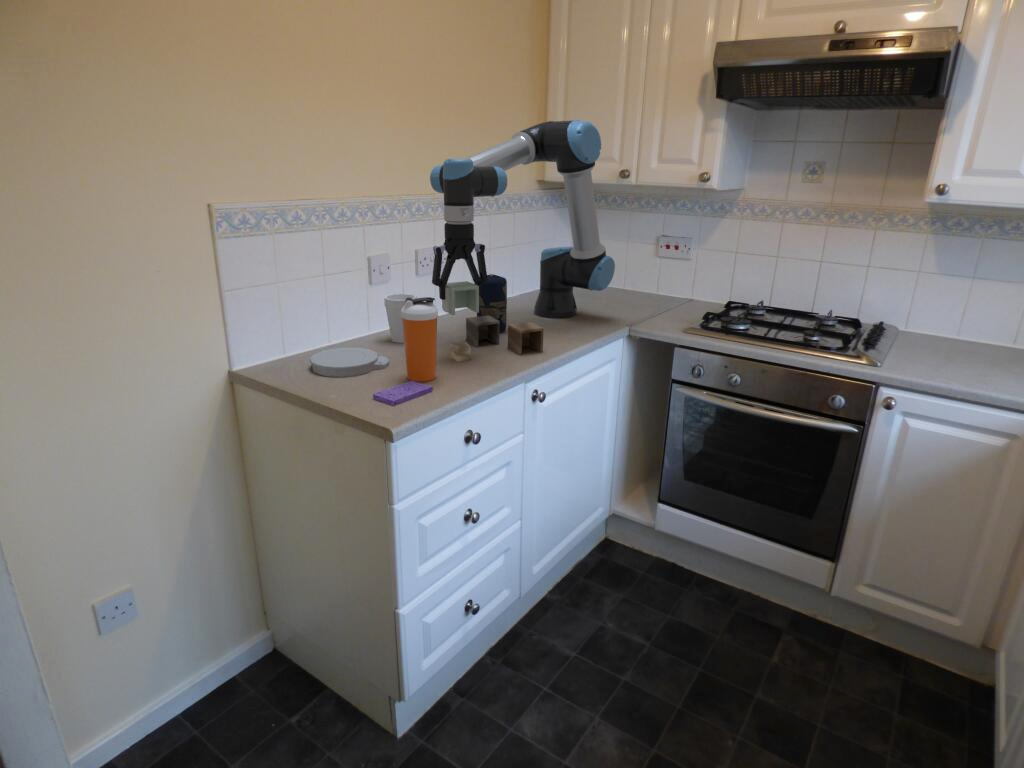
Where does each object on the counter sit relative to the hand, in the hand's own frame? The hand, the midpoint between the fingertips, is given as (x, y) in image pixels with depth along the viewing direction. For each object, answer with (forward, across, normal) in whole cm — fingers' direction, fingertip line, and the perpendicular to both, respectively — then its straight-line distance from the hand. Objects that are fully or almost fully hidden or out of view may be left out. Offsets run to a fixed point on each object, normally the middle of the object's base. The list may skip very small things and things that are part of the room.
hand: (460, 309), depth 173 cm
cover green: (0, 0, 0) cm, 0 cm away
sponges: (+14, -23, -21) cm, 34 cm away
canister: (+14, +20, +23) cm, 33 cm away
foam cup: (+14, -9, +24) cm, 29 cm away
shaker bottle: (+14, -15, -11) cm, 23 cm away
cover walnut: (+14, +20, 0) cm, 24 cm away
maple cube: (+14, 0, 0) cm, 14 cm away
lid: (+14, -29, +5) cm, 33 cm away
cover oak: (+14, +12, +12) cm, 22 cm away
